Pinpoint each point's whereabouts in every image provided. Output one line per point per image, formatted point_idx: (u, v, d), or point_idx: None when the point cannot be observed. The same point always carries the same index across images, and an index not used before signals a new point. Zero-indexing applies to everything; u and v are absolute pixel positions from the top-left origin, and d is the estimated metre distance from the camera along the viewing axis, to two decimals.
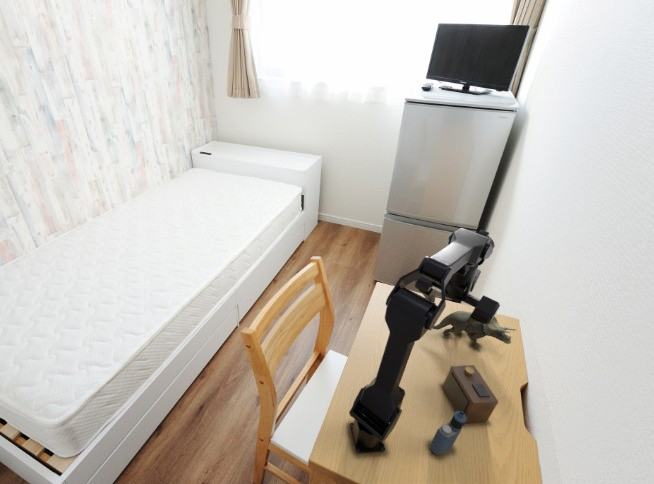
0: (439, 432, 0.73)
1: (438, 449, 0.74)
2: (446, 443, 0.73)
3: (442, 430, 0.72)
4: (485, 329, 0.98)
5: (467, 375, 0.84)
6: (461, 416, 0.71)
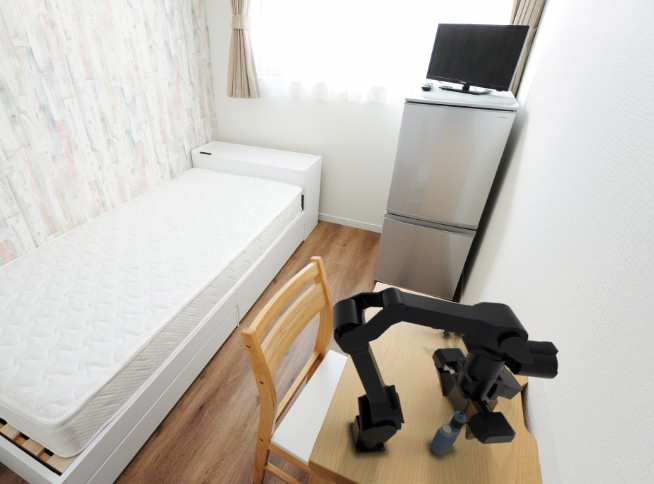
0: (439, 432, 0.73)
1: (438, 449, 0.74)
2: (446, 443, 0.73)
3: (442, 430, 0.72)
4: None
5: None
6: (461, 416, 0.71)
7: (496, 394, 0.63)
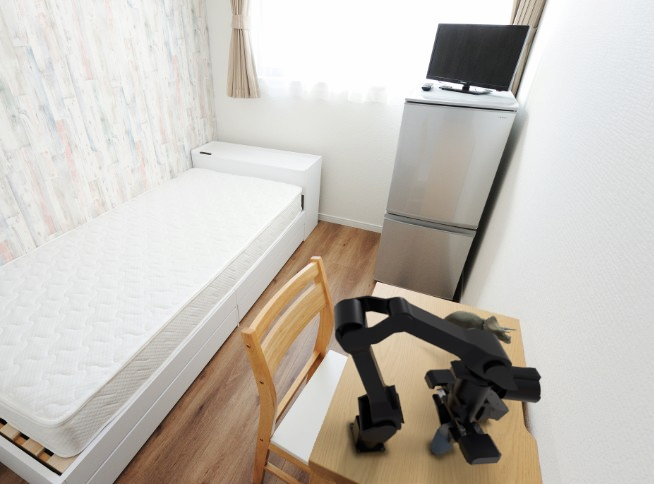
0: (439, 432, 0.73)
1: (438, 449, 0.74)
2: (446, 443, 0.73)
3: (442, 430, 0.72)
4: (485, 329, 0.98)
5: None
6: None
7: (483, 416, 0.66)
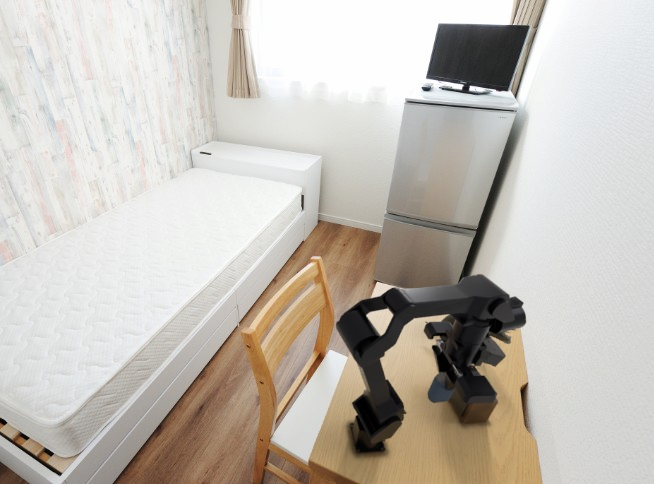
0: (435, 378, 0.75)
1: (433, 396, 0.76)
2: (441, 390, 0.75)
3: (438, 376, 0.74)
4: None
5: None
6: None
7: (481, 360, 0.68)
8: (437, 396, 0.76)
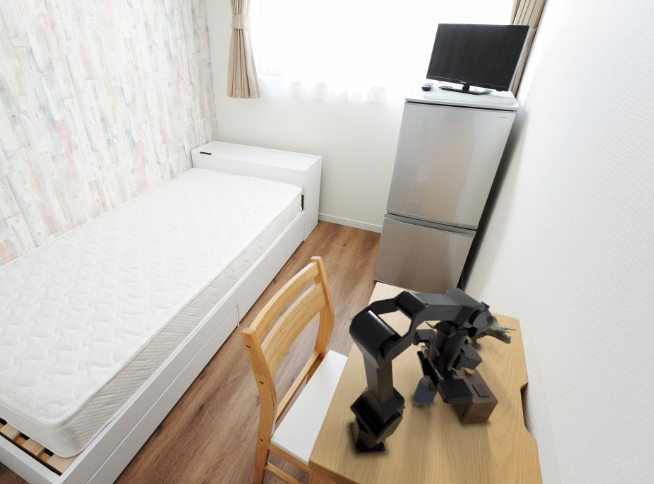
0: (420, 381, 0.82)
1: (418, 397, 0.84)
2: (426, 392, 0.82)
3: (423, 379, 0.82)
4: None
5: (467, 375, 0.84)
6: None
7: (460, 365, 0.75)
8: (422, 397, 0.83)
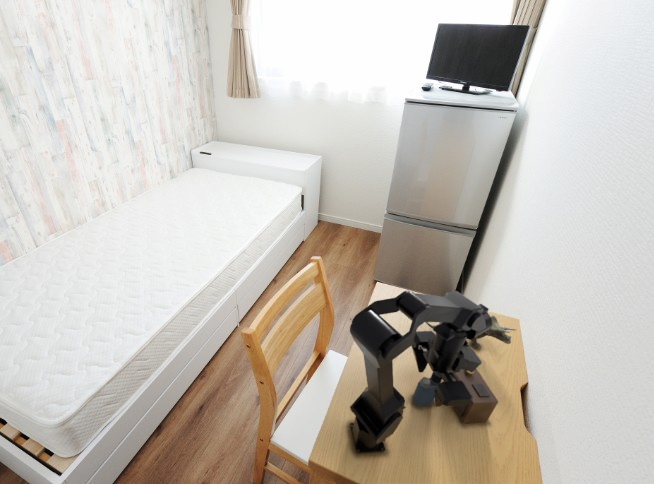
0: (419, 383, 0.83)
1: (417, 399, 0.84)
2: (424, 394, 0.83)
3: (421, 381, 0.82)
4: None
5: (467, 375, 0.84)
6: None
7: (459, 367, 0.76)
8: (421, 399, 0.84)
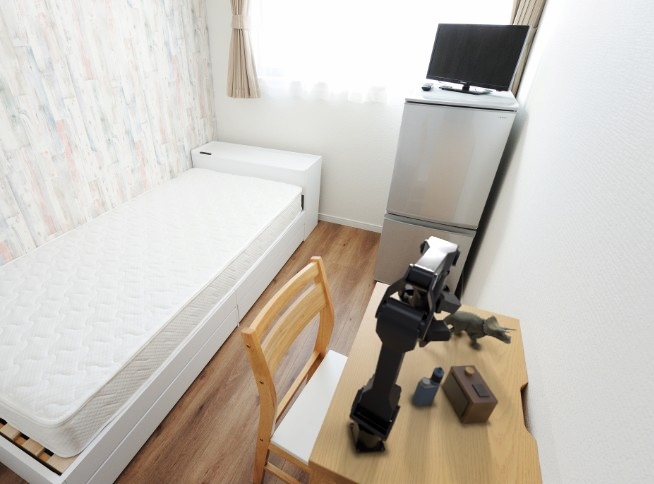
0: (419, 383, 0.83)
1: (417, 399, 0.84)
2: (424, 394, 0.83)
3: (421, 381, 0.82)
4: (485, 329, 0.98)
5: (467, 375, 0.84)
6: (439, 371, 0.80)
7: (440, 308, 0.82)
8: (421, 399, 0.84)
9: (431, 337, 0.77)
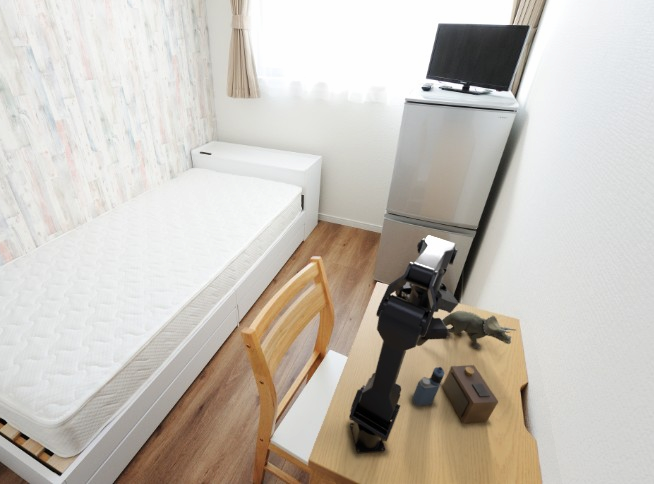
0: (419, 383, 0.83)
1: (417, 399, 0.84)
2: (424, 394, 0.83)
3: (421, 381, 0.82)
4: (485, 329, 0.98)
5: (467, 375, 0.84)
6: (439, 371, 0.80)
7: (437, 306, 0.83)
8: (421, 399, 0.84)
9: (429, 335, 0.78)
